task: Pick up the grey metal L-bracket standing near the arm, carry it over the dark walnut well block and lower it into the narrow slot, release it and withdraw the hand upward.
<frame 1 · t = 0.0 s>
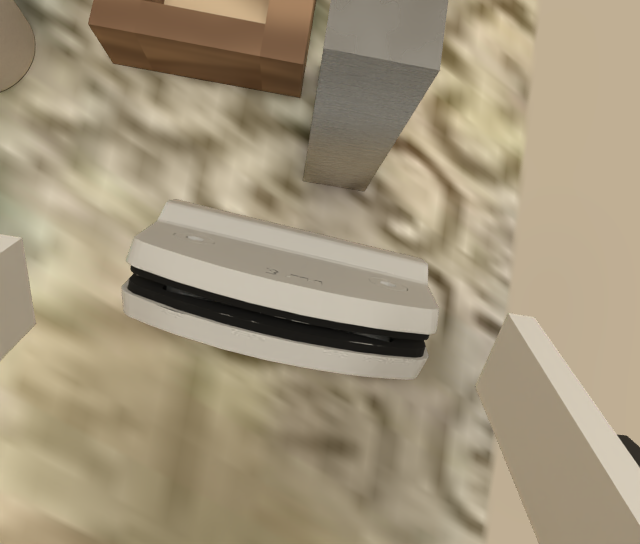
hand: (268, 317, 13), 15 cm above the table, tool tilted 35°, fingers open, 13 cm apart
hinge: (286, 289, 28), on the table
bracket: (338, 156, 29), on the table
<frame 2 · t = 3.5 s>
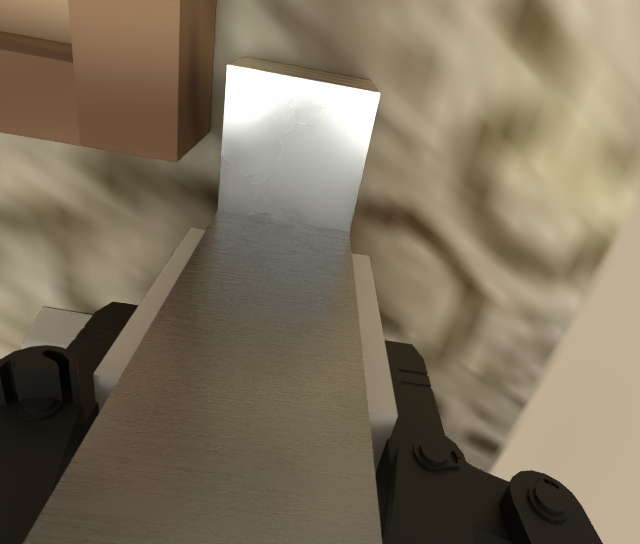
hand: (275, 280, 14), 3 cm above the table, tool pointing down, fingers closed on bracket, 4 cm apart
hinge: (226, 397, 22), on the table
bracket: (284, 238, 17), on the table, touching gripper
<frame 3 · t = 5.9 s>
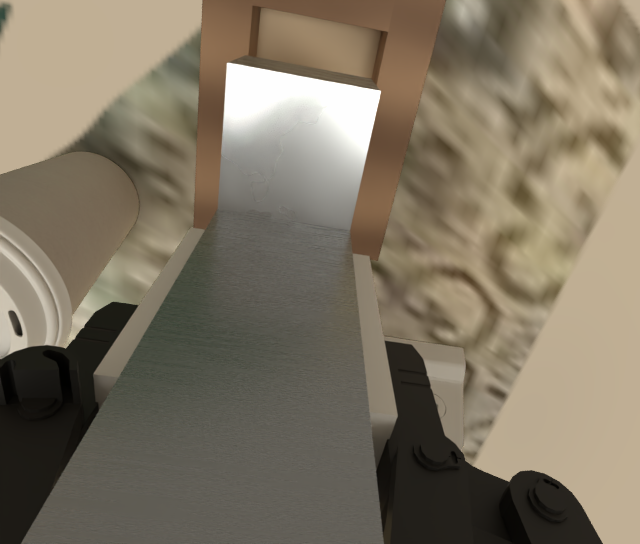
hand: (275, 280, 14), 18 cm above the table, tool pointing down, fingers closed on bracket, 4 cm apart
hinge: (359, 366, 39), on the table
well: (307, 116, 29), on the table
bracket: (284, 237, 17), point 15 cm above the table, touching gripper
coffee cup: (94, 196, 32), on the table
when the fingers open (5 cm above the table, at t = 8.7 s): bracket drops 1 cm, resting on well.
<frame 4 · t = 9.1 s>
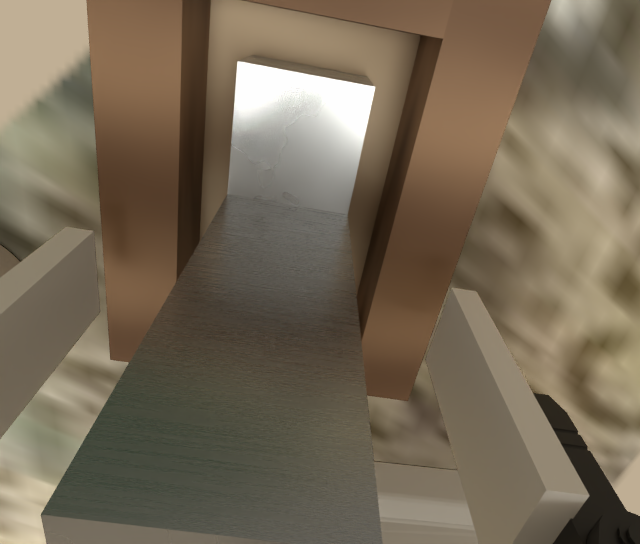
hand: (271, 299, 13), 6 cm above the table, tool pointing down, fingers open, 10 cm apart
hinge: (379, 499, 28), on the table
well: (294, 172, 18), on the table
bracket: (287, 224, 19), resting on well
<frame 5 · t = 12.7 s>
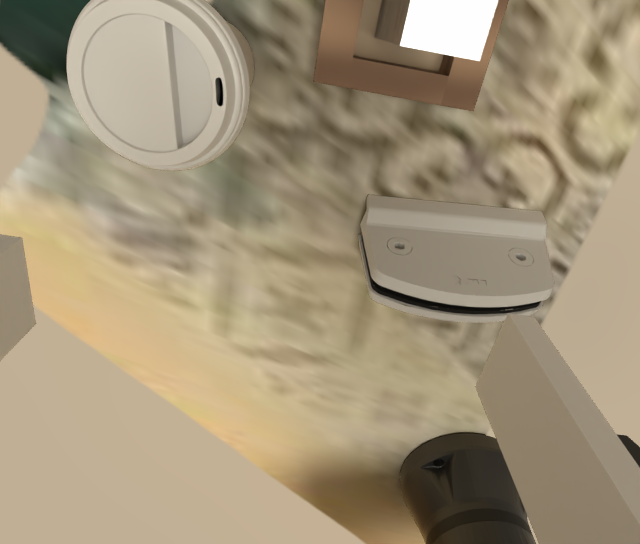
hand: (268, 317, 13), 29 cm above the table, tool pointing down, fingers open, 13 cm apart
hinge: (444, 240, 43), on the table
bracket: (406, 12, 33), resting on well
coffee cup: (214, 63, 36), on the table
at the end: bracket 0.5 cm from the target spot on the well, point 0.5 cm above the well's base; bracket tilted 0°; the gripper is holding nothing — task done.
